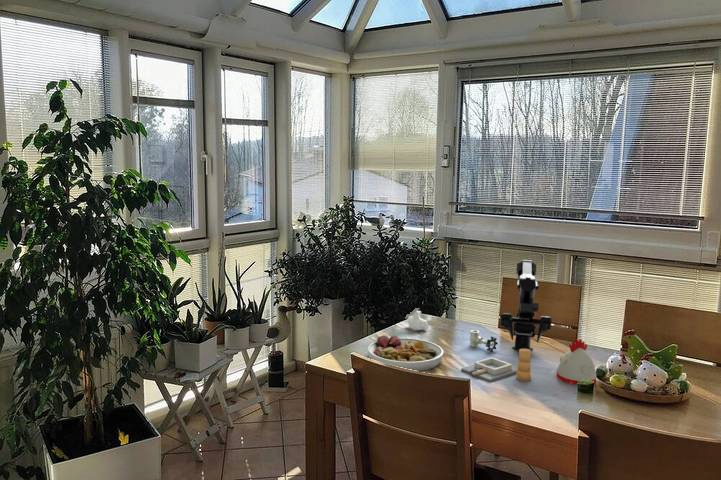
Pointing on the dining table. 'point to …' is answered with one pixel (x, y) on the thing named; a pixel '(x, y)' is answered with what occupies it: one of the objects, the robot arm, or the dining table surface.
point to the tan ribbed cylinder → (524, 365)
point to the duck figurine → (417, 322)
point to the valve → (482, 341)
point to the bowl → (406, 352)
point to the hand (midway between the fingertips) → (525, 340)
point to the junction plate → (491, 369)
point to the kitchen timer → (576, 364)
